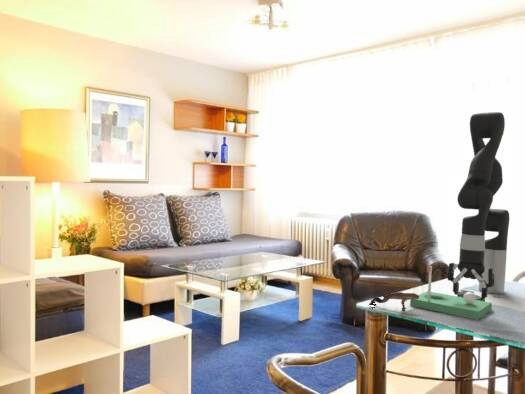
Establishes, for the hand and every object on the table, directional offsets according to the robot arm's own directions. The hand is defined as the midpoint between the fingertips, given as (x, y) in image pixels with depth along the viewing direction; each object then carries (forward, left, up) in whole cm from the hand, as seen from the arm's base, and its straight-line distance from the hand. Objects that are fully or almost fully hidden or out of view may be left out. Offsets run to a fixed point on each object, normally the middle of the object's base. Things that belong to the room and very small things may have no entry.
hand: (469, 296), depth 157 cm
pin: (+8, -11, -3) cm, 14 cm away
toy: (+16, -19, -6) cm, 26 cm away
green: (0, -6, -5) cm, 8 cm away
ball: (0, 0, -1) cm, 1 cm away
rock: (-14, -4, -6) cm, 15 cm away
